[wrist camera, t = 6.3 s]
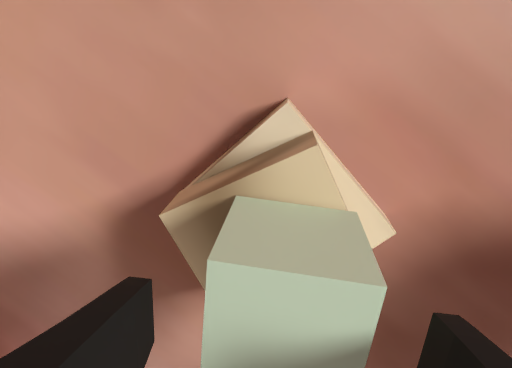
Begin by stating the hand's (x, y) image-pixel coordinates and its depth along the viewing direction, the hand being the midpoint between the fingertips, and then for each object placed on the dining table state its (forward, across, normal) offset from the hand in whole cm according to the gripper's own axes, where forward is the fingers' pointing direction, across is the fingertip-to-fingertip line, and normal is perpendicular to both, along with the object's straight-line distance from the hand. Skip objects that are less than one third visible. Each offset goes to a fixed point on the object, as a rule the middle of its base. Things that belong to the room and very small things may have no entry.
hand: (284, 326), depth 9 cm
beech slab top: (+6, 0, 0) cm, 6 cm away
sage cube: (+3, 0, 0) cm, 3 cm away
